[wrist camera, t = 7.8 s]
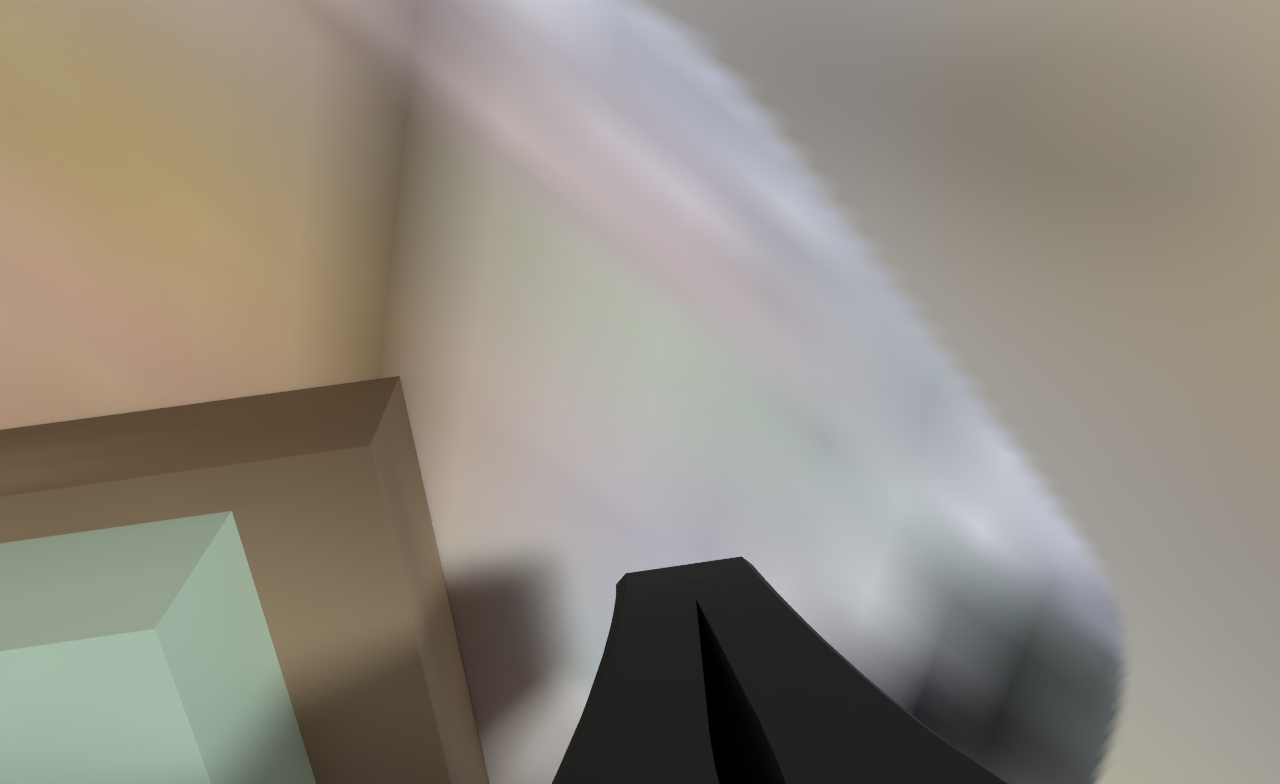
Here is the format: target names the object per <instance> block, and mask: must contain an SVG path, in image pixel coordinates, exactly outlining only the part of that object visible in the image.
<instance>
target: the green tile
mask: <svg viewBox="0 0 1280 784" xmlns="http://www.w3.org/2000/svg"><path fill="white" fill-rule="evenodd" d="M0 784H316V781H315V778H314V775H313V772H312V769H311V765H310V762H309V759H308V756H307V752H306V749H305V746H304V743H303V739H302V736H301V733H300V730H299V727H298V723H297V720H296V717H295V714H294V710H293V707H292V704H291V701H290V697H289V694H288V691H287V688H286V685H285V681H284V678H283V675H282V672H281V668H280V665H279V662H278V659H277V655H276V652H275V649H274V646H273V642H272V639H271V636H270V633H269V630H268V626H267V623H266V620H265V617H264V613H263V610H262V607H261V604H260V600H259V597H258V594H257V591H256V588H255V584H254V581H253V578H252V575H251V571H250V568H249V565H248V562H247V558H246V555H245V552H244V549H243V545H242V542H241V539H240V536H239V533H238V529H237V526H236V523H235V520H234V516H233V513H232V511H228V512H221V513H213V514H206V515H199V516H192V517H185V518H178V519H171V520H163V521H156V522H149V523H142V524H135V525H128V526H121V527H114V528H106V529H99V530H92V531H85V532H78V533H71V534H64V535H56V536H49V537H42V538H35V539H28V540H21V541H14V542H7V543H0Z"/></svg>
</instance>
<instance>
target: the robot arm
mask: <svg viewBox="0 0 1280 784" xmlns="http://www.w3.org/2000/svg"><path fill="white" fill-rule="evenodd" d="M552 784H1007V783H1006V782H1004V781H1003V780H1001V779H1000V778H998V777H997V776H995V775H994V774H992V773H991V772H989V771H988V770H986V769H985V768H983V767H982V766H980V765H979V764H977V763H976V762H974V761H973V760H971V759H970V758H968V757H967V756H965V755H964V754H963V753H961V752H960V751H958V750H957V749H956V748H954V747H953V746H952V745H950V744H949V743H947V742H946V741H945V740H943V739H942V738H941V737H939V736H938V735H937V734H935V733H934V732H933V731H931V730H930V729H929V728H928V727H926V726H925V725H924V724H922V723H921V722H920V721H919V720H917V719H916V718H915V717H914V716H912V715H911V714H910V713H909V712H907V711H906V710H905V709H904V708H902V707H901V706H900V705H899V704H897V703H896V702H895V701H894V700H892V699H891V698H890V697H889V696H887V695H886V694H885V693H884V692H883V691H881V690H880V689H879V688H878V687H877V686H876V685H874V684H873V683H872V682H871V681H870V680H869V679H867V678H866V677H865V676H864V675H863V674H862V673H861V672H859V671H858V670H857V669H856V668H855V667H854V666H853V665H852V664H851V663H849V662H848V661H847V660H846V659H845V658H844V657H843V656H842V655H841V654H840V653H838V652H837V651H836V650H835V649H834V648H833V647H832V646H831V645H830V644H829V643H827V642H826V641H825V640H824V639H823V638H822V637H821V636H820V635H819V634H818V633H817V632H816V631H815V630H814V629H813V628H812V627H811V626H810V625H809V624H808V623H807V622H806V621H805V620H804V619H803V618H802V617H801V616H800V615H799V614H798V613H797V612H796V611H795V610H794V609H793V608H792V607H791V606H790V605H789V604H788V603H787V602H786V601H785V600H784V599H783V598H782V597H781V596H780V595H779V594H778V593H777V592H776V591H775V590H774V588H773V587H772V586H771V585H770V584H769V583H768V582H767V581H766V580H765V579H764V578H763V576H762V575H761V574H760V573H759V572H758V571H757V570H756V568H755V567H754V566H753V565H752V564H750V563H749V562H748V561H747V560H745V559H744V558H743V557H736V558H729V559H722V560H715V561H708V562H701V563H694V564H688V565H681V566H674V567H667V568H660V569H653V570H646V571H639V572H633V573H626V574H625V575H624V576H623V577H622V578H621V580H620V581H619V582H618V583H617V584H616V600H615V607H614V613H613V618H612V623H611V627H610V631H609V635H608V638H607V642H606V646H605V649H604V653H603V656H602V659H601V662H600V665H599V668H598V671H597V674H596V677H595V680H594V683H593V686H592V688H591V691H590V694H589V697H588V700H587V703H586V706H585V708H584V711H583V713H582V716H581V718H580V721H579V723H578V725H577V728H576V730H575V732H574V735H573V737H572V739H571V741H570V744H569V746H568V748H567V751H566V753H565V755H564V758H563V760H562V762H561V764H560V767H559V769H558V771H557V774H556V776H555V778H554V780H553V782H552Z"/></svg>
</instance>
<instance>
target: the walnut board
mask: <svg viewBox="0 0 1280 784" xmlns="http://www.w3.org/2000/svg"><path fill="white" fill-rule="evenodd" d="M228 511H232V513H233V516H234V520H235V523H236V526H237V529H238V533H239V536H240V539H241V542H242V545H243V549H244V552H245V555H246V558H247V562H248V565H249V568H250V571H251V575H252V578H253V581H254V584H255V588H256V591H257V594H258V597H259V600H260V604H261V607H262V610H263V613H264V617H265V620H266V623H267V626H268V630H269V633H270V636H271V639H272V642H273V646H274V649H275V652H276V655H277V659H278V662H279V665H280V668H281V672H282V675H283V678H284V681H285V685H286V688H287V691H288V694H289V697H290V701H291V704H292V707H293V710H294V714H295V717H296V720H297V723H298V727H299V730H300V733H301V736H302V739H303V743H304V746H305V749H306V752H307V756H308V759H309V762H310V765H311V769H312V772H313V775H314V778H315V781H316V784H489V780H488V776H487V771H486V767H485V762H484V758H483V753H482V749H481V744H480V740H479V735H478V730H477V726H476V721H475V717H474V712H473V708H472V703H471V699H470V694H469V690H468V685H467V681H466V676H465V672H464V667H463V662H462V658H461V653H460V649H459V644H458V640H457V635H456V631H455V626H454V622H453V617H452V613H451V608H450V604H449V599H448V594H447V590H446V585H445V581H444V576H443V572H442V567H441V563H440V558H439V554H438V549H437V545H436V540H435V536H434V531H433V526H432V522H431V517H430V513H429V508H428V504H427V499H426V495H425V490H424V486H423V481H422V477H421V472H420V468H419V463H418V458H417V454H416V449H415V445H414V440H413V436H412V431H411V427H410V422H409V418H408V413H407V409H406V404H405V400H404V395H403V390H402V386H401V381H400V377H399V376H398V377H391V378H383V379H376V380H369V381H361V382H354V383H346V384H339V385H331V386H324V387H317V388H309V389H302V390H294V391H287V392H280V393H272V394H265V395H257V396H250V397H243V398H235V399H228V400H220V401H213V402H206V403H198V404H191V405H183V406H176V407H168V408H161V409H154V410H146V411H139V412H131V413H124V414H117V415H109V416H102V417H94V418H87V419H80V420H72V421H65V422H57V423H50V424H42V425H35V426H28V427H20V428H13V429H5V430H0V543H7V542H14V541H21V540H28V539H35V538H42V537H49V536H56V535H64V534H71V533H78V532H85V531H92V530H99V529H106V528H114V527H121V526H128V525H135V524H142V523H149V522H156V521H163V520H171V519H178V518H185V517H192V516H199V515H206V514H213V513H221V512H228Z"/></svg>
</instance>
